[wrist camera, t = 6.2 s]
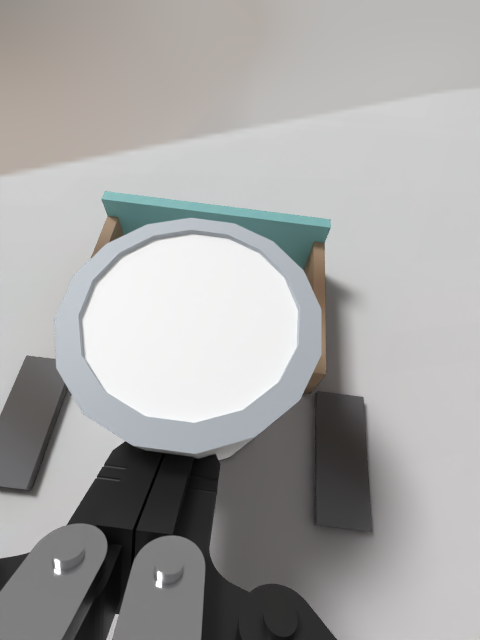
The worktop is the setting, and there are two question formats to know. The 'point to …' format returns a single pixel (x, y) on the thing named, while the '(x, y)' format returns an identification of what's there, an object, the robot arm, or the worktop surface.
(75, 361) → the white cup
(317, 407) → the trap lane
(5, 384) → the worktop surface
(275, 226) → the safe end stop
